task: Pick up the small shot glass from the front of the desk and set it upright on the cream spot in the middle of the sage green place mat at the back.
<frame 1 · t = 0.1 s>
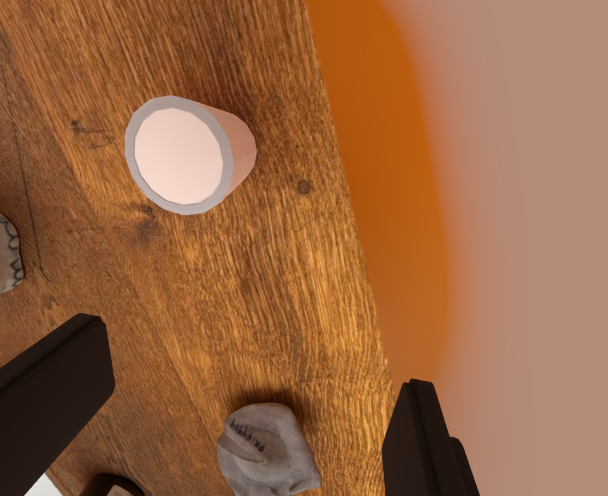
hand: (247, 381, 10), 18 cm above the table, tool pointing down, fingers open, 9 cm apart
ink bottle: (119, 490, 46), on the table
shot glass: (223, 149, 25), on the table
fossil: (277, 419, 36), on the table
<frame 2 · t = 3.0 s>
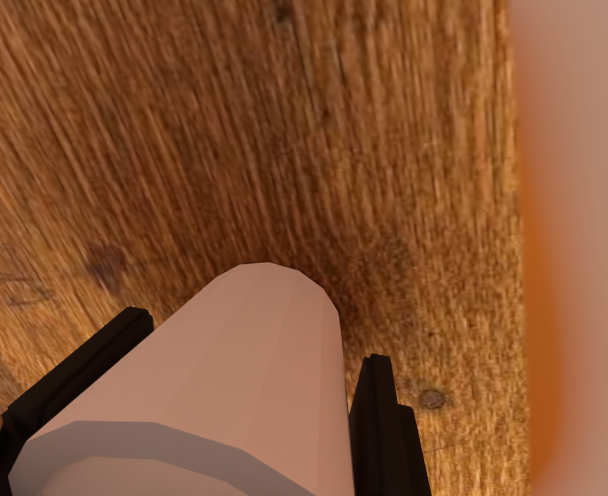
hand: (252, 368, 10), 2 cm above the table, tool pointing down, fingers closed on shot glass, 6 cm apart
shot glass: (270, 324, 12), on the table, touching gripper
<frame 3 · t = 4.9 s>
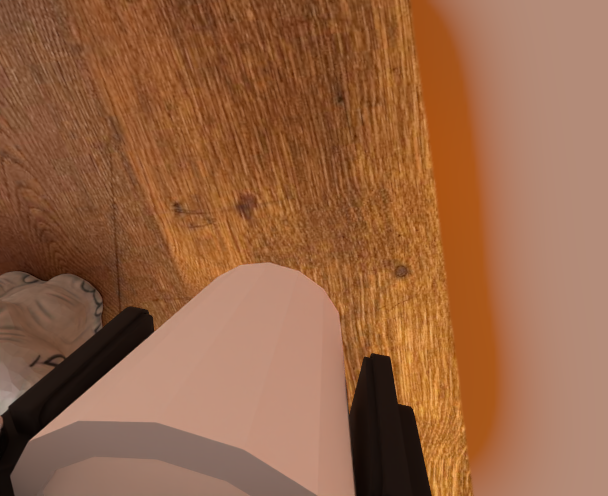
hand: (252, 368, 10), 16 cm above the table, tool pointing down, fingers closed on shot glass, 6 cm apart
shot glass: (270, 324, 12), point 14 cm above the table, touching gripper
teapot: (77, 310, 32), on the table
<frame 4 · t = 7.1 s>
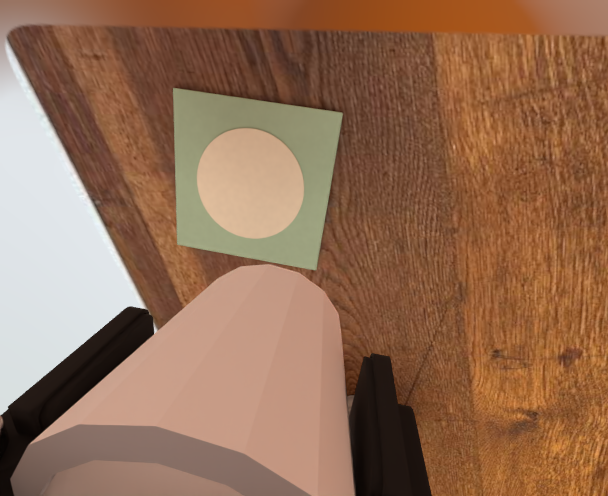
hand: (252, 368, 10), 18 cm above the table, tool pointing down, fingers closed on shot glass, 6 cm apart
shot glass: (270, 326, 12), point 15 cm above the table, touching gripper
mat: (252, 185, 26), on the table
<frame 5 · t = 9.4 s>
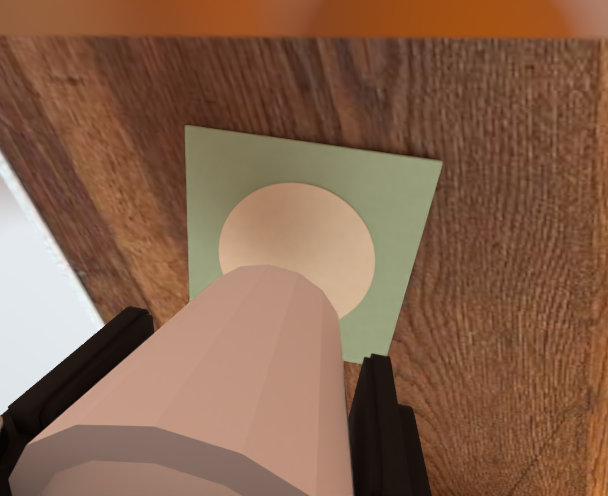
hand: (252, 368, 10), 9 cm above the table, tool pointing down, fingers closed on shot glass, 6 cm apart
shot glass: (269, 326, 12), point 7 cm above the table, touching gripper
mat: (296, 256, 18), on the table
when the fingers open (3 cm above the table, at t = 11.4 s): shot glass stays where it is, resting on mat.
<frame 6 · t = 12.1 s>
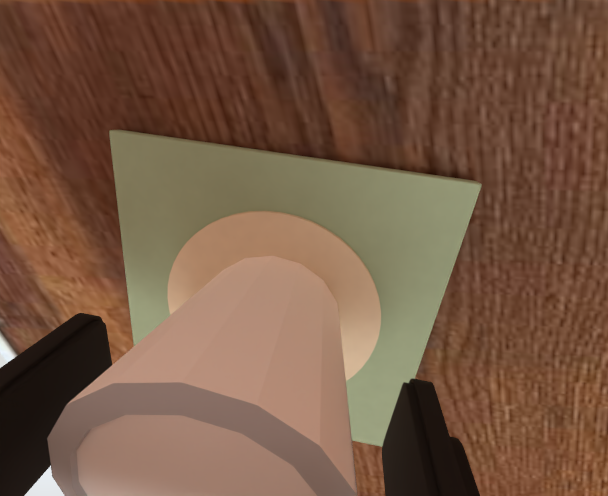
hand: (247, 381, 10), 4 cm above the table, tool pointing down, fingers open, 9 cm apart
shot glass: (273, 314, 13), point 1 cm above the table, touching mat
mat: (274, 306, 14), on the table
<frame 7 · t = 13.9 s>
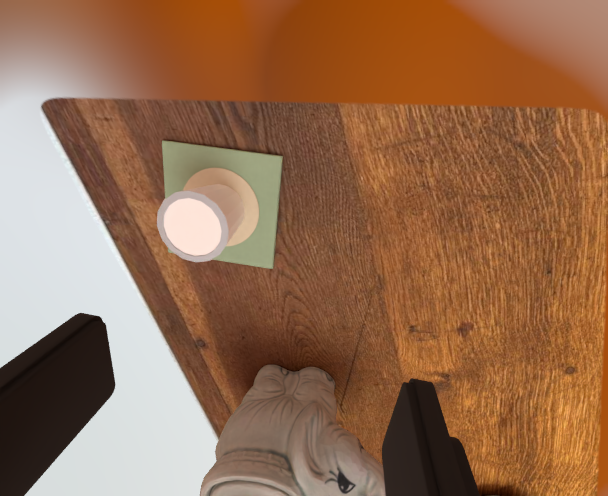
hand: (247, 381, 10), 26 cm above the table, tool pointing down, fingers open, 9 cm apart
shot glass: (221, 208, 35), point 1 cm above the table, touching mat
mat: (222, 207, 36), on the table
teapot: (308, 390, 44), on the table
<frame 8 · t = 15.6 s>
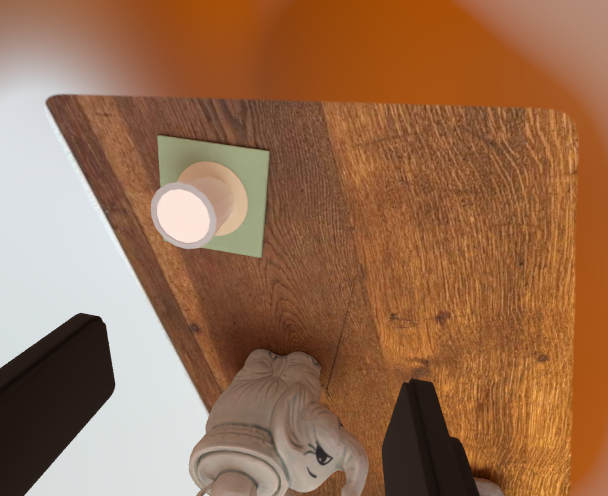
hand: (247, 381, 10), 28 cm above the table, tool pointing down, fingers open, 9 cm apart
shot glass: (212, 200, 37), point 1 cm above the table, touching mat
mat: (213, 198, 38), on the table
fossil: (472, 486, 51), on the table
teapot: (296, 374, 47), on the table
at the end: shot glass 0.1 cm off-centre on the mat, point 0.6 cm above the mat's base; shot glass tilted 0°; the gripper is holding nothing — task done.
